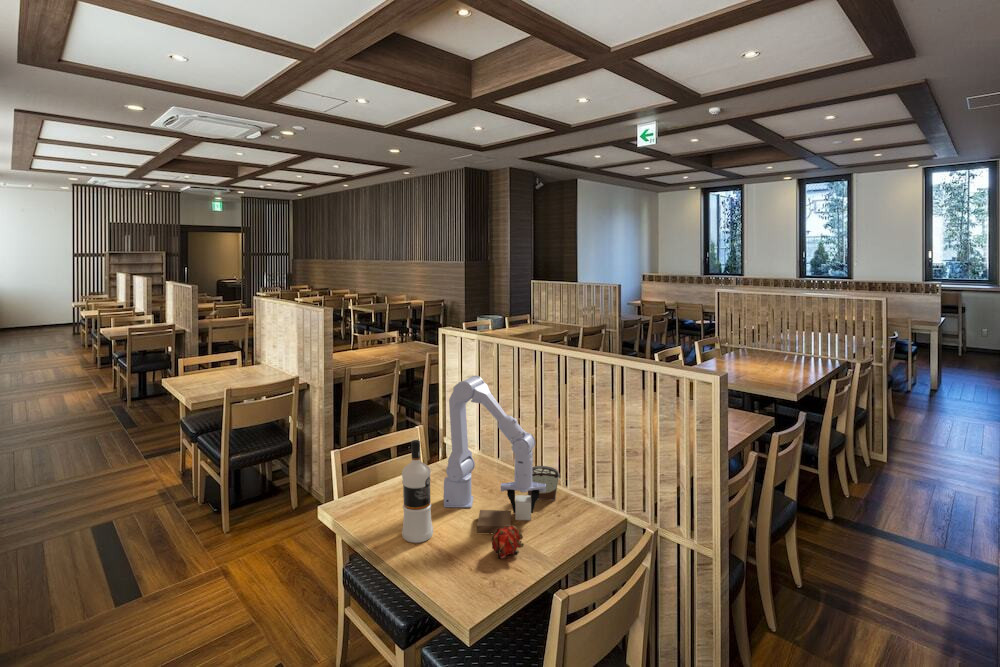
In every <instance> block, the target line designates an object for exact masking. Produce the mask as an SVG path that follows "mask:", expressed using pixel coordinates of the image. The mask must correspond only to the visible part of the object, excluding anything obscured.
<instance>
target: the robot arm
mask: <svg viewBox="0 0 1000 667" xmlns="http://www.w3.org/2000/svg"><path fill="white" fill-rule="evenodd" d="M452 389H453V390H452V392H451V394H450V397H449V400H448V407H449V408H448V409H449V420H450V421H449V422H450V426H449V427H450V439H451V440H450V443H451V453H450V454H449V456H448V459H447V466H446V469H445V470H446V471H445V472H446V477H444V479H443V508H468V509H469V508H472V507H473V502H474V496H473V495H472V472H473V470H474V469H475V467H476V466H475V465H476V463H475V460H474V458H473V454H472V453H473V452H472V451H471V450H470V449H469V443H468V426H467V425H468V424H467V423H468V422H467V409H466V408H467V407H466V405H467V403H468V402H471V403H474V404H475V403H476V404H482V405H483V407H484V408H485V409H486V410H487V411H488V412H489V413H490V414H491V415H492V416H493V418H494V419H495V420H496V421H497V422H498V424H497V426H498V429H499V430H500V432H501V433H502V434H503V435H504V437H505V438H506V439H507V440H508V441H509V443H510V444H511V445H512V446H511V450H512V452H513V453H514V481H511V482H505V483H504V482H502V483H500V492H506V494H507V497H508V499H509V502H510V503H511V508H512V513H513V514H515V495H516V491H517V492H519V491H520V492H521V493H528V491H531V514H534V509H535V506H536V503H537V501H538V498H539V495H540V494H539V491H543V492H546V484H541V483H534V482H532V467H533V462H534V461H533V458H534V457H533V453H534V452H533V450H534V448H535V447H536V440H535V438H534V436H533V434H531V433H530V432H527V431H526V430H524V429H523V427H521V425H520V423H519V422H518V420H519V419H517V418H516V417H513V415H507V414H506V412H505V411H504V409H503V408H502V407H501V405H500V403H499V402H498V401H497V399H496V397H494V396H493V394H492V393H491V390H490V388H489V385H488V384H487V383H486V382H485V381H484V379H483V378H482V377H481V376H479V375H472V376H470V377H469V378H466V379H464V380H461V381H459V382H458V383H456V384H455V385H454V386H453V388H452Z"/></svg>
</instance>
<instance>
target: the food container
mask: <svg viewBox="0 0 1000 667" xmlns="http://www.w3.org/2000/svg"><path fill="white" fill-rule="evenodd" d="M559 479H561V476H560V473H559V471H558V469H556V468H554V467H552V466H548V465H536V466H532V482H534V483H541V484H546V492H543V491H539V494H540V495H539V498H538V499H552V500H551V501H556V497H557V490H558V485H559V484H558V483H559ZM527 495H529V496H531V491H527ZM538 499H537V500H538Z"/></svg>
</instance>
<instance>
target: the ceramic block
mask: <svg viewBox="0 0 1000 667" xmlns="http://www.w3.org/2000/svg"><path fill="white" fill-rule="evenodd" d="M514 514H515V515H514V517H515V521H531V520H532V513H531V496H529V495H528V494H527V495H520V494H517V495H516V494H515V513H514Z"/></svg>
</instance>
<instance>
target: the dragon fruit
mask: <svg viewBox="0 0 1000 667" xmlns="http://www.w3.org/2000/svg"><path fill="white" fill-rule="evenodd" d="M523 538H524V536H523V535H522V532H521V529H519V528H518V527H517V525H514V524H513V525H511V526H510V527H509V526H506V525H505V526H504V528H502V529H500V528H499V529H497V530H496V532H495V534H492V537H491V549H492V550H493V551H494V553H495V555H497V559H501V560H502V559H507V558H508V556H509V555H511V557H514V556H517V555H518V554H519V553H520V551H519V550H517V549H518V548H519V549H520V548H523V547H524V546H525V544H524V543H523V542H522V540H523Z"/></svg>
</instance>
